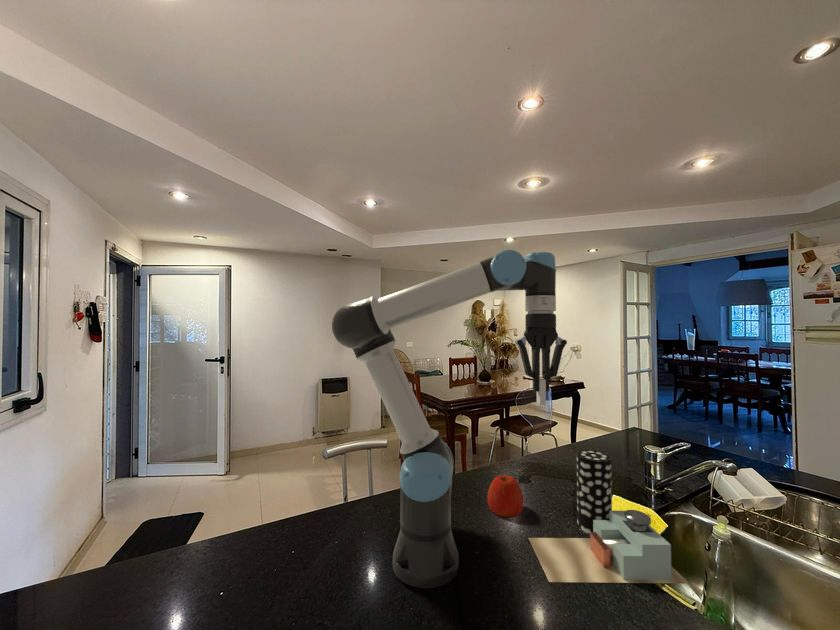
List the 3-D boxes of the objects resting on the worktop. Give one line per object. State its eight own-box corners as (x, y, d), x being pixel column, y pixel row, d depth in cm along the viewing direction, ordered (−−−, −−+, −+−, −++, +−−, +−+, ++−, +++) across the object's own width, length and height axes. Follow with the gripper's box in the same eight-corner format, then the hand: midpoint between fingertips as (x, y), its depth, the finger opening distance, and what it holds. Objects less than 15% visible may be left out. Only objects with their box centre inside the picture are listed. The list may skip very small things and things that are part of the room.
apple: (508, 500, 109) (508, 466, 109) (531, 517, 100) (531, 480, 100) (480, 507, 105) (480, 472, 105) (501, 526, 96) (501, 487, 96)
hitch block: (623, 579, 74) (623, 544, 75) (593, 540, 88) (593, 510, 88) (671, 580, 74) (670, 544, 74) (633, 540, 88) (633, 510, 88)
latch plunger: (633, 548, 78) (632, 522, 79) (620, 534, 84) (619, 509, 84) (656, 548, 78) (656, 522, 79) (642, 534, 84) (641, 509, 84)
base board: (549, 586, 74) (549, 581, 74) (528, 541, 89) (528, 537, 89) (688, 587, 73) (688, 583, 73) (643, 542, 88) (643, 538, 88)
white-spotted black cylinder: (616, 542, 88) (616, 462, 89) (581, 538, 90) (580, 460, 90) (606, 523, 97) (605, 450, 97) (574, 520, 98) (573, 448, 99)
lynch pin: (603, 567, 78) (603, 549, 78) (590, 548, 84) (590, 532, 85) (664, 568, 78) (664, 549, 78) (646, 549, 84) (646, 532, 84)
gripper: (519, 312, 87) (519, 407, 87) (571, 312, 87) (572, 407, 87) (511, 313, 95) (512, 400, 95) (560, 313, 95) (560, 400, 94)
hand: (541, 403), depth 91 cm, fingers closed
